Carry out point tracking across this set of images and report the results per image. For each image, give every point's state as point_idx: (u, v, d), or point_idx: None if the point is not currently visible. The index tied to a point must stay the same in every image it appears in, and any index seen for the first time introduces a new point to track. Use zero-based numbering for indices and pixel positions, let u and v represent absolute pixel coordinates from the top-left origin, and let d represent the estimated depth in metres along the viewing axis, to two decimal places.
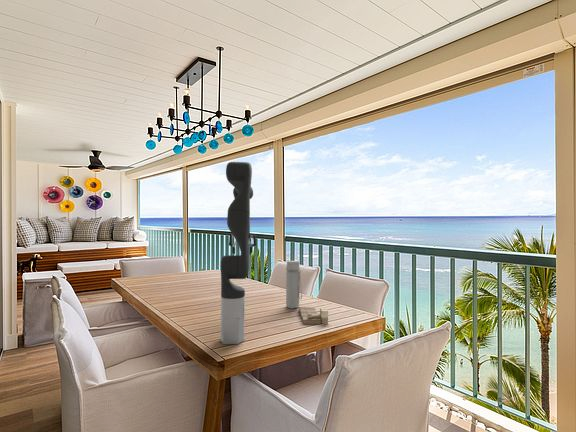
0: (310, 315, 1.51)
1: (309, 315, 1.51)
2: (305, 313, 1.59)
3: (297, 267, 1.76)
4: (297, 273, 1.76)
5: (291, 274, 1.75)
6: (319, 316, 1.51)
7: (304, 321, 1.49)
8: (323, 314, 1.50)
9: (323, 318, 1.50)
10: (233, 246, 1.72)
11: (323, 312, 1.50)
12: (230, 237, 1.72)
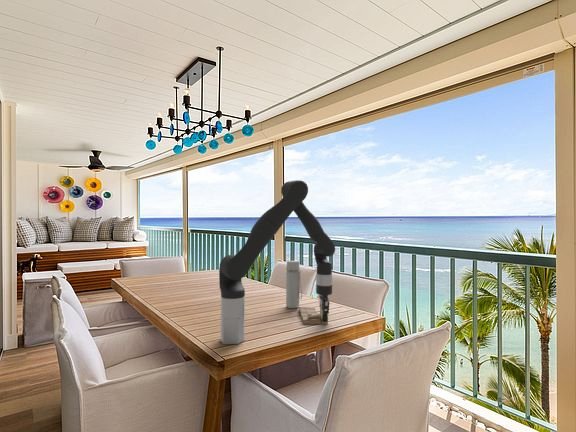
0: (310, 315, 1.51)
1: (309, 315, 1.51)
2: (305, 313, 1.59)
3: (297, 267, 1.76)
4: (297, 273, 1.76)
5: (291, 274, 1.75)
6: (319, 316, 1.51)
7: (304, 321, 1.49)
8: None
9: None
10: None
11: None
12: (328, 304, 1.47)
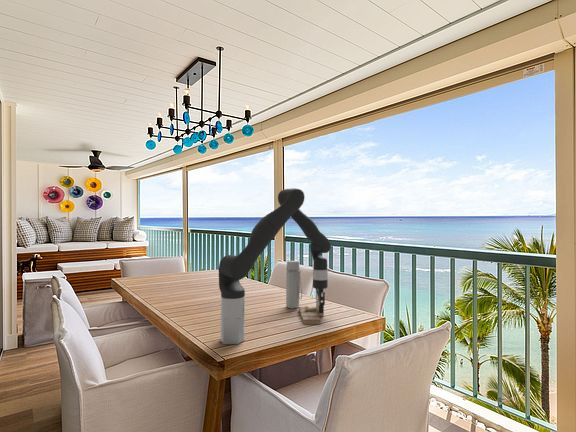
0: (307, 308, 1.63)
1: (306, 308, 1.63)
2: (305, 313, 1.59)
3: (297, 267, 1.76)
4: (297, 273, 1.76)
5: (291, 274, 1.75)
6: (315, 309, 1.63)
7: (304, 321, 1.49)
8: None
9: None
10: (323, 304, 1.60)
11: None
12: (324, 295, 1.58)
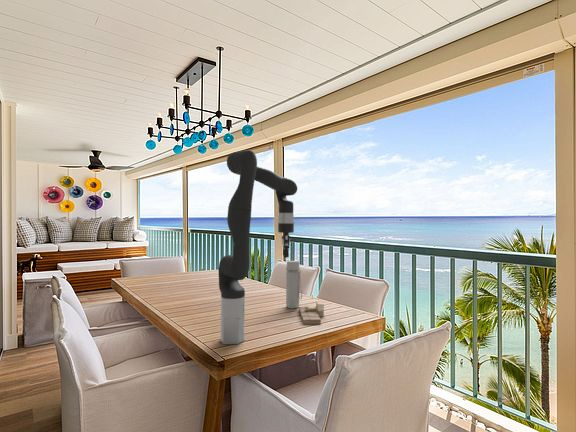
0: (307, 308, 1.63)
1: (306, 308, 1.63)
2: (305, 313, 1.59)
3: (297, 267, 1.76)
4: (297, 273, 1.76)
5: (291, 274, 1.75)
6: (315, 309, 1.63)
7: (304, 321, 1.49)
8: (319, 307, 1.62)
9: (319, 311, 1.62)
10: (288, 248, 1.51)
11: (319, 305, 1.62)
12: (289, 238, 1.50)
